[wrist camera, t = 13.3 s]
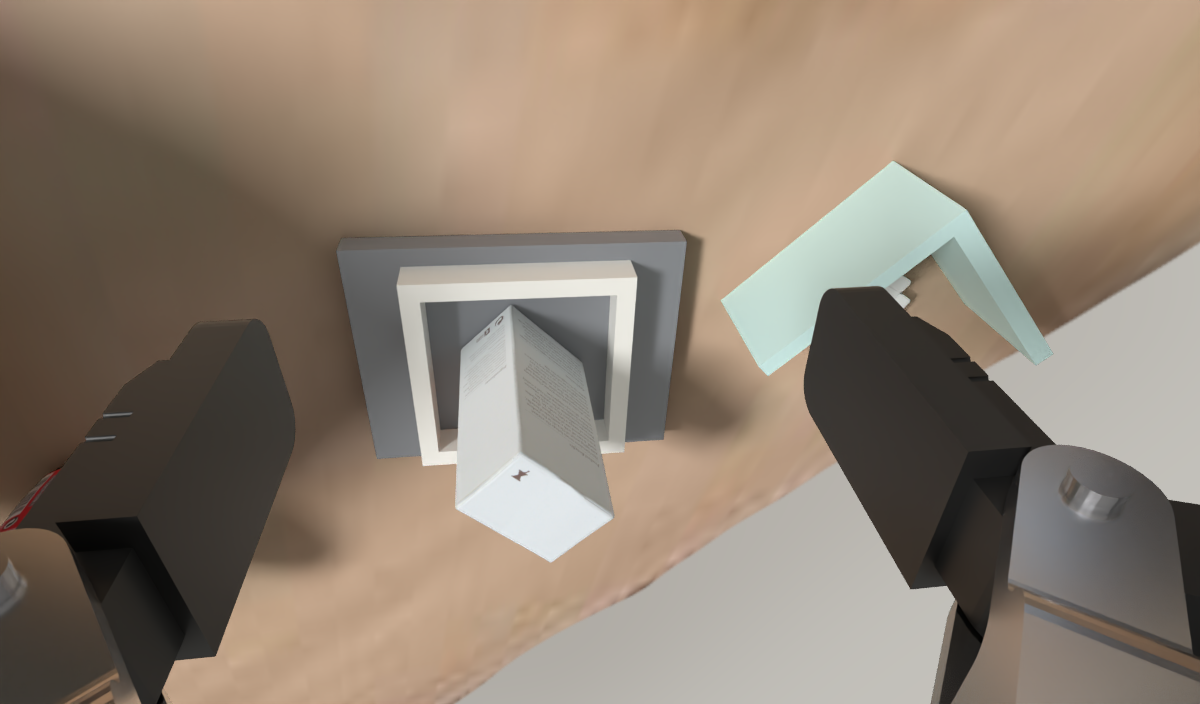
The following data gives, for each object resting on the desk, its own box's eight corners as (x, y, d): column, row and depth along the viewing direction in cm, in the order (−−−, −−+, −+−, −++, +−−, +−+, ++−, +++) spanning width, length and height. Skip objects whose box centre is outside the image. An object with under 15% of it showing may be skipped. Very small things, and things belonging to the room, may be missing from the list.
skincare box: (457, 349, 38) (449, 508, 28) (511, 301, 37) (521, 450, 27) (534, 406, 41) (551, 567, 31) (586, 363, 40) (619, 517, 30)
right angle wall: (717, 295, 41) (758, 366, 35) (887, 157, 38) (966, 209, 32) (818, 399, 47) (868, 476, 41) (973, 288, 44) (1053, 353, 37)
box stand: (680, 230, 38) (696, 258, 35) (658, 424, 45) (670, 460, 43) (341, 238, 35) (328, 269, 32) (380, 442, 43) (372, 482, 40)
